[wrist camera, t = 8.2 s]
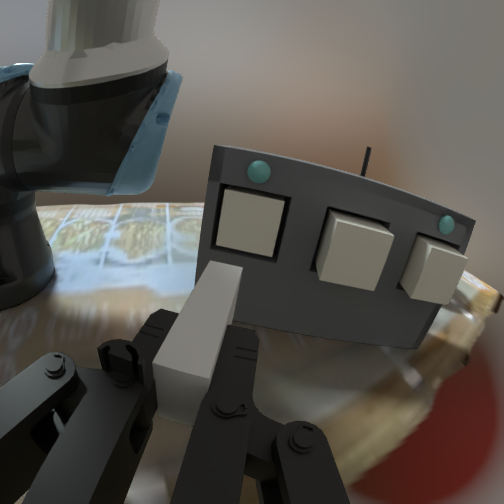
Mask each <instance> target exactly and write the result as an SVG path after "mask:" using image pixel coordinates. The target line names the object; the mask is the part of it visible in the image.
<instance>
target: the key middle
mask: <svg viewBox="0 0 504 504" xmlns="http://www.w3.org/2000/svg"><path fill="white" fill-rule="evenodd" d="M393 239H394V235H393V234H392V233H390V232H389V231H388V230H387V229H386V228H385V227H384V226H382V225H381V224H380V223H379V222H376V221H372V220H369V219H365V218H361V217H358V216H354V215H350V214H346V213H343V212H339V211H335V210H331V209H329V210H328V213H327V217H326V221H325V225H324V228H323V232H322V235H321V239H320V242H319V246H318V249H317V253H316V256H315V260H314V261H315V265H316V269H317V273H318V276H319V280H322V281H327V282H331V283H336V284H341V285H346V286H351V287H356V288H361V289H366V290H371V291H374V290H375V287H376V285H377V282H378V280H379V277H380V275H381V272H382V270H383V267H384V265H385V262H386V259H387V256H388V254H389V251H390V248H391V245H392V242H393Z"/></svg>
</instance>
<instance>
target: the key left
mask: <svg viewBox="0 0 504 504" xmlns="http://www.w3.org/2000/svg"><path fill="white" fill-rule="evenodd" d="M284 203H285V198H284V195H279V194H275V193H270V192H265V191H261V190H256V189H251V188H246V187H241V186H235V185H230V186H229V187H227V188H226V189H225V192H224V198H223V204H222V210H221V216H220V222H219V229H218V235H217V242H216V245H218V246H223V247H228V248H232V249H237V250H242V251H246V252H251V253H256V254H260V255H265V256H270V257H272V255H273V250H274V246H275V242H276V238H277V233H278V229H279V225H280V220H281V216H282V212H283V207H284Z"/></svg>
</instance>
